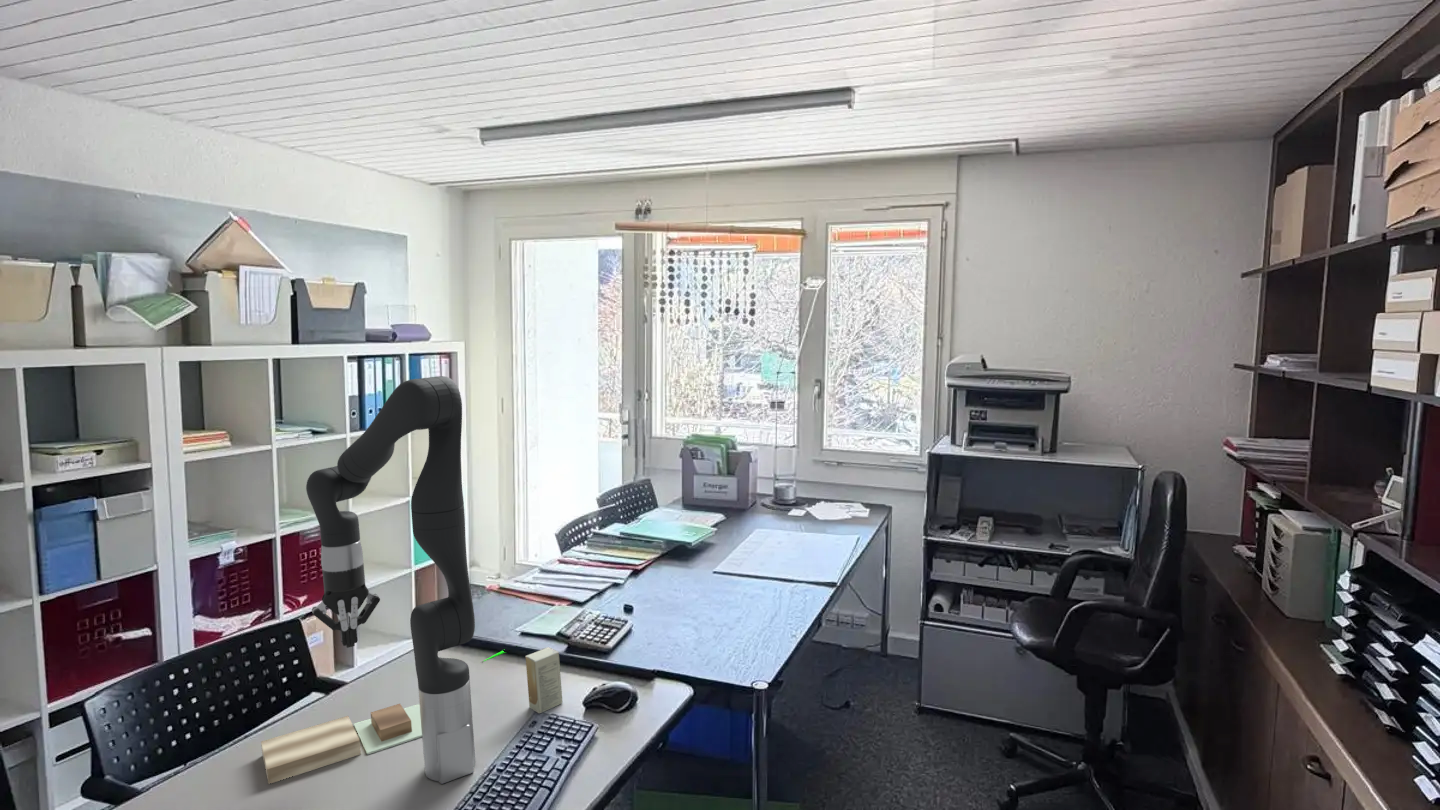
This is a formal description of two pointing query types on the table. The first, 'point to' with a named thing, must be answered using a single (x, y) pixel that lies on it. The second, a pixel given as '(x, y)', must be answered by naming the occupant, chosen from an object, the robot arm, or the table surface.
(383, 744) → the mat
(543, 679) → the skincare box
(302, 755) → the beige ridged block
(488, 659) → the pen
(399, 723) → the brown wooden block
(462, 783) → the table surface
